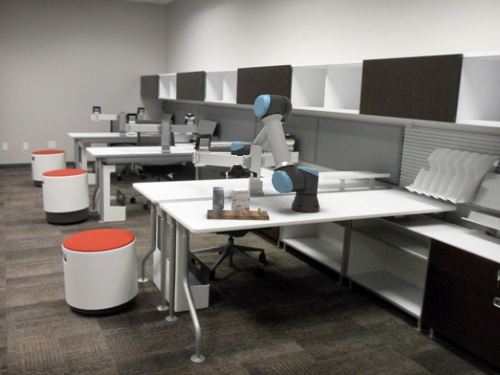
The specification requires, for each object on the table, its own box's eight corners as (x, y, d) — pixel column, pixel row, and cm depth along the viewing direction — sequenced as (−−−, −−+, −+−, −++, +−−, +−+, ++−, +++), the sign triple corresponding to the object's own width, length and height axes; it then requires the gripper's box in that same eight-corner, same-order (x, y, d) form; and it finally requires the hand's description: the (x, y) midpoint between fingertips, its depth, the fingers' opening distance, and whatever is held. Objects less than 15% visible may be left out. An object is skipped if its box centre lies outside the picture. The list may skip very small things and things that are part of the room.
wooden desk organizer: (266, 214, 242) (267, 187, 240) (269, 220, 232) (270, 191, 229) (207, 213, 240) (208, 186, 237) (207, 218, 229) (207, 190, 226)
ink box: (245, 210, 251) (246, 188, 249) (249, 212, 247) (250, 189, 244) (230, 211, 247) (231, 188, 245) (234, 213, 243) (235, 190, 240)
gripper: (258, 177, 276) (262, 184, 255) (215, 176, 274) (216, 183, 253) (259, 164, 275) (263, 170, 254) (216, 163, 272) (216, 169, 252)
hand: (239, 177), depth 254 cm, fingers open, 13 cm apart
